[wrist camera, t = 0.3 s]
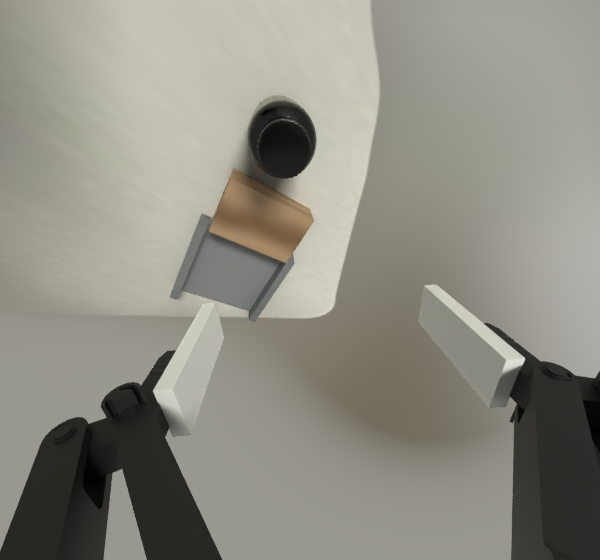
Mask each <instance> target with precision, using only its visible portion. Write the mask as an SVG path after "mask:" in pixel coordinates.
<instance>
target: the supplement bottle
mask: <svg viewBox="0 0 600 560" xmlns="http://www.w3.org/2000/svg"><path fill="white" fill-rule="evenodd" d="M248 147H249V151H250V154H251V156H252V158H253V160H254V162H255V163H256V164H257V166H258V167H259V168H260V169H261V170H263V171H264V172H265V173H267V174H269V175H271V176H274V177H277V178H282V179H283V178H286V179H287V178H289V177H290V178H292V177H294V176H297V175H298V174H299V173H301V172H302V171H303V170H304V169H305V168H306V167H307V166H308V165H309V163H310V162H311V160H312V158H313V156H314V153H315V149H316V131H315V127H314V125H313V122H312V120H311V118H310V117H309V115H308V114H307V113H306V111H305V110H304V109H303V108H302V107H300V106H299V105H298V104H297V103H296V102H294V101H293V100H291V99H290V98H288V97H285V96H272V97H269V98H267V99H265V100H263V101H262V102H261V103H260V104H259V105H258V106H257V108H256V109H255V111H254V113H253V116H252V119H251V122H250V125H249V129H248Z"/></svg>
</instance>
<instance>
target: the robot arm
mask: <svg viewBox="0 0 600 560" xmlns="http://www.w3.org/2000/svg"><path fill="white" fill-rule="evenodd" d="M418 322H419V323H420V325H421V326H422V327H423V328H424V329H425V331H426V332H427V333H428V334H429V335H430V337H431V338H432V339H433V340H434V342H435V343H436V344H437V345H438V346H439V348H440V349H441V350H442V351H443V352H444V354H445V355H446V356H447V357H448V359H449V360H450V361H451V362H452V363H453V365H454V366H455V367H456V368H457V370H458V371H459V372H460V373H461V374H462V376H463V377H464V378H465V379H466V381H467V382H468V383H469V384H470V385H471V387H472V388H473V389H474V390H475V392H476V393H477V394H478V395H479V397H480V398H481V399H482V400H483V401H484V403H485V404H486V405H487V406H488V407H489V408H493V407H504V406H506V405H507V402H508V400H509V398H510V397H511V398H512V399H513V400H514V401H515V402H516V403H517V405H516V407H515V410H514V412H513V415H512V417H511V420H510V422H512V423H513V421H514V460H513V505H512V506H513V507H512V508H513V509H512V551H511V560H600V371H599V373H598V375H597V376H596V378H588V377H580V376H575V375H574V374H573V373H571V372H570V371H569V370H567V369H565V368H564V367H562V366H559V365H557V364H554V363H550V362H541V361H539V360H538V359H537V358H536V357H534V356H533V355H532V354H530V353H529V352H528V351H527V350H525V349H524V348H523V347H522V346H520V345H519V344H518V343H516V342H515V341H514V340H513V339H511V338H510V337H508V336H507V335H506V334H505V333H504V332H503V331H501V330H500V329H499V328H496V327H495V326H492V325H491V324H488V323H484V324H483V323H482V322H481V321H479V320H478V319H477V318H476V317H475V316H474V315H472V314H471V313H470V312H469V311H467V310H466V309H465V308H464V307H463V306H461V305H460V304H459V303H458V302H457V301H455V300H454V299H453V298H452V297H451V296H449V295H448V294H447V293H446V292H444V291H443V290H442V289H441V288H440V287H438V286H437V285H424V289H423V296H422V302H421V308H420V315H419V321H418ZM223 340H224V336H223V331H222V327H221V324H220V319H219V315H218V311H217V306H216V303H205V304H203V305H202V307H201V308H200V310H199V312H198V314H197V315H196V317H195V319H194V321H193V322H192V324H191V326H190V327H189V329H188V331H187V333H186V334H185V336H184V338H183V340H182V341H181V343H180V345H179V347H178V348H177V350H174V351H167V352H166V353H165V354H163V355H162V356H161V357H160V358H159V359H158V360H157V362H156V364H155V365H154V368H152V370H151V371H150V373H149V375H148V376H147V378H146V379H145V381H144V382H143V384H142V385H141V386H140V385H139V384H138V383H134V382H132V383H126V384H123V385H121V386H118V387H117V388H115V389H114V390H112V391H111V392H110V393H108V394H107V396H105V398H104V399H103V401H102V404H101V408H102V410H103V411H104V413H105V415H106V417H107V418H105V419H102V420H99V421H96V422H93V423H91V424H88V422H87V421H86V420H85V419H84V418H81V417H76V418H72V419H69V420H67V421H65V422H63V423H61V424H59V425H58V426H57V427H55V428H54V429H52V430H51V431H50V432H49V433H48V434H47V435H46V436H45V438H44V439H43V441H42V443H41V445H40V448H39V451H38V453H37V455H36V458H35V461H34V464H33V466H32V469H31V472H30V474H29V477H28V480H27V482H26V485H25V487H24V490H23V493H22V495H21V498H20V501H19V503H18V506H17V508H16V511H15V514H14V517H13V519H12V522H11V524H10V527H9V530H8V532H7V535H6V538H5V540H4V543H3V546H2V548H1V551H0V560H103V557H104V548H105V539H106V529H107V520H108V510H109V501H110V491H111V481H112V473H113V472H115V471H118V470H120V469H123V473H124V477H125V480H126V484H127V487H128V491H129V495H130V499H131V502H132V506H133V510H134V513H135V517H136V521H137V525H138V528H139V532H140V536H141V540H142V543H143V547H144V551H145V554H146V557H147V560H222V558H221V556H220V554H219V552H218V550H217V548H216V545H215V543H214V541H213V539H212V537H211V535H210V533H209V530H208V528H207V526H206V524H205V522H204V520H203V518H202V515H201V513H200V511H199V509H198V507H197V505H196V503H195V500H194V499H193V496H192V494H191V492H190V490H189V488H188V486H187V483H186V481H185V479H184V477H183V475H182V473H181V471H180V469H179V466H178V464H177V462H176V460H175V458H174V456H173V454H172V451H171V449H170V447H169V445H168V443H167V441H166V439H165V436H166V434H167V431H168V429H170V432H171V434H172V436H173V437H175V436H186V435H191V432H192V429H193V427H194V424H195V421H196V418H197V415H198V412H199V409H200V406H201V403H202V401H203V398H204V394H205V392H206V389H207V386H208V383H209V380H210V378H211V375H212V372H213V369H214V366H215V363H216V360H217V357H218V354H219V352H220V349H221V346H222V343H223Z"/></svg>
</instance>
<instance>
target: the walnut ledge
mask: <svg viewBox="0 0 600 560" xmlns="http://www.w3.org/2000/svg"><path fill="white" fill-rule="evenodd" d="M313 221H314V220H313V217H312V214H311V211H310V209H309V208H307V207H305V206H303V205H301V204H299V203H297V202H296V201H294V200H292V199H290V198H288V197H286V196H284V195H282V194H281V193H279V192H277V191H275V190H273V189H271V188H269V187H267V186H266V185H264V184H262V183H260V182H258V181H256V180H254V179H252V178H251V177H249V176H247V175H245V174H243V173H241V172H239V171H237V170H236V169H233V171H232V174H231V176H230V178H229V181H228V183H227V186H226V188H225V190H224V193H223V195H222V198H221V200H220V203H219V205H218V207H217V210H216V212H215V215H214V217H213V220H212V223H211V226H210V229H209V232H211V233H214V234H216V235H219V236H221V237H224V238H226V239H228V240H231V241H233V242H236V243H238V244H241V245H243V246H245V247H248V248H250V249H253V250H255V251H258V252H260V253H262V254H265V255H267V256H270V257H272V258H275V259H277V260H279V261H282V262H284V263H287V261H288V260H289V258H290V257H291V255H292V254H293V252H294V250H295V249H296V247H297V246H298V244H299V243H300V241H301V240H302V238H303V237H304V235H305V234H306V232H307V231H308V229H309V228H310V226H311V225H312V223H313Z"/></svg>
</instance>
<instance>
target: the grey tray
mask: <svg viewBox="0 0 600 560" xmlns="http://www.w3.org/2000/svg"><path fill="white" fill-rule="evenodd" d="M212 220H213V218H211V217H209V216H206V215H204V214H202V215H201V217H200V220H199V222H198V225H197V227H196V230H195V233H194V235H193V238H192V240H191V243H190V246H189V248H188V251H187V253H186V256H185V259H184V261H183V264H182V266H181V269H180V272H179V274H178V277H177V279H176V282H175V285H174V287H173V290H172V293H171V295H170V297H171V298H175V299H178V296H179V294H180V292H181V290H183V291H186V292H190V293H193V294H196V295H199V296H203V297H206V298H209V299H213V300H216V301H219V302H222V303H226V304H229V305H232V306H235V307H239V308H242V309H245V310H249V320H251V321H254V322H255V321H256V319H257V318H258V316H259V315H260V313H261V312H262V310H263V309H264V307H265V306H266V304H267V303H268V301H269V300H270V298H271V297H272V296H273V294H274V293H275V291H276V290H277V288H278V287H279V285H280V284H281V282H282V281H283V279H284V278H285V276H286V275H287V273H288V272H289V270H290V269H291V267H292V266H293V265H294V258H293V254H292V255H291V257H290V258H289V260H288V261H287V263H284V262H282V261H279V260H277V259H275V258H272V257H270V256H267V255H265V254H262V253H260V252H258V251H255V250H253V249H250V248H248V247H245V246H243V245H241V244H238V243H236V242H233V241H231V240H228V239H226V238H224V237H221V236H219V235H216V234H214V233H211V232H209V229H210V226H211V223H212Z"/></svg>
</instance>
